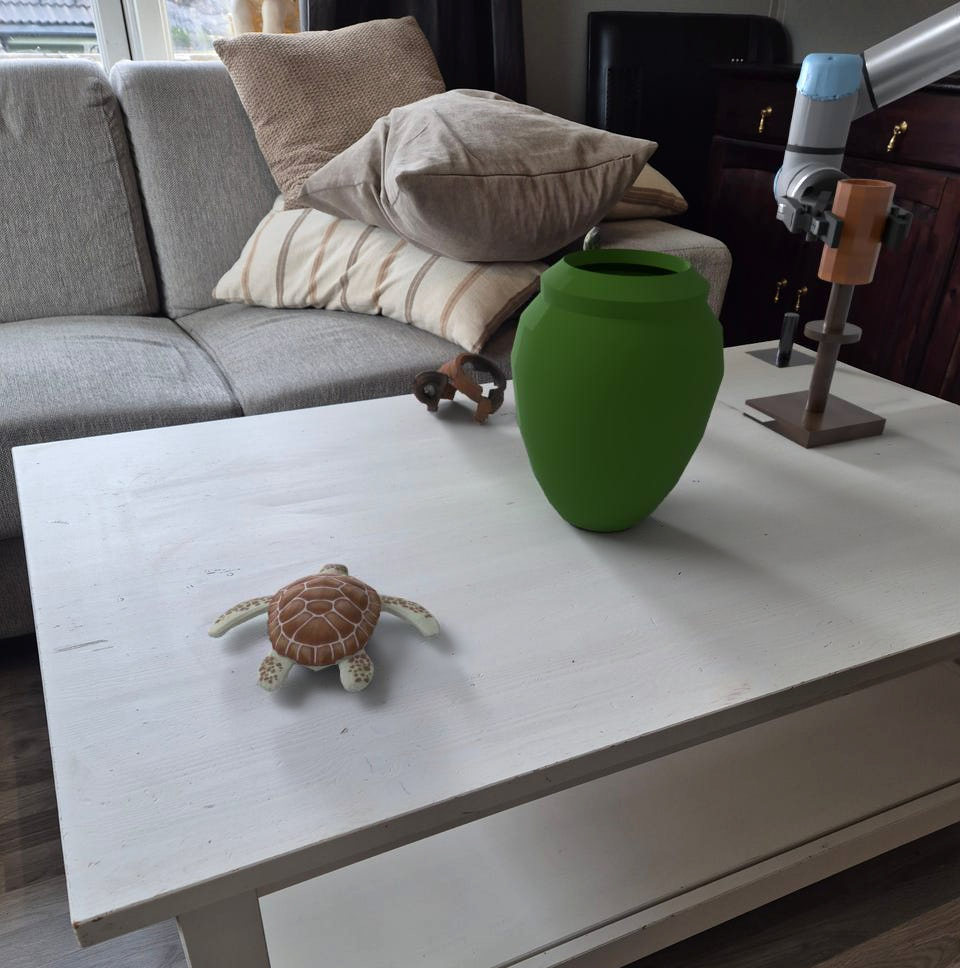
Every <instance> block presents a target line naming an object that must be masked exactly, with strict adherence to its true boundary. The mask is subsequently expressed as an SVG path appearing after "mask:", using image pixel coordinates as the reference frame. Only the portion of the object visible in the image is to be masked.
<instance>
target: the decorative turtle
mask: <svg viewBox="0 0 960 968" xmlns="http://www.w3.org/2000/svg"><path fill="white" fill-rule="evenodd" d="M349 574H350V573H349V568H348V567H347V566H346V564H345V565H344V564H342V563H327V564H324V565H323V566H322V567H320V569H319V572H318V573H317V574H310V575H307V576H303V577H301V578H298V579H296V580H294V581H292V582H291V583H289V584H287V585H285V586H284V587H281V588H280V589H279V590H278V591H277V592H276V593H275V594H272V595H265V596H260V597H256V598H252V599H248V600H246V601H243V602H240V603H238V604H236V605H234V606H233V607H231V608H229V609H228V610H226V611H225V612H224V613H222V614H221V615H220V616H219V617H218V618H216V619H215V620H214V621H213V623H212V624H211V625H210V627H209V628H208V631H207V636H209V637H210V638H214V639H219V638H222V637H223V636H224V635H226V633H228V632H229V631H230V630H232V629H233V628H236V627H238V626H240V625H242V624H244V623H246V622H249V621H250V620H253V619H254V618H256V617H258V616H262V615H264V614H266V613H267V620H266V626H267V635H268V637H269V638H268V641H270V643H271V648H272V649H271V651H270V652H269V653H268V654H267V655H266V657H265V658H264V659H263V660H262V661H261V663H260V664H259V666H258V668H257V670H256V681H257V683H258V686H259V687H260V688H261V689H262V690H264V691H267V692H277V691H279V690H281V688H282V686H283V685H284V684H285V683H286V681H287V679H288V677H289V674H290V671H291V670H292V668H293V667H294V665H300V666H302V667H305V668H307V669H309V670H312V671H314V672H318V671H319V672H320V671H321V670H324V669H326V668H329V667H331V666H334V665H338V669H339V676H340V677H339V678H340V682H341V684H342V687H343V688H344V690H345V691H348V693H349V692H351V693H355V692H359V691H361V690H363V689H365V688H366V687H367V686H368V685H369V684H370V683H371V681H372V679H373V677H374V673H375V666H374V663H373V661H372V660H371V658H370V657H369V654H367V652H366V650H365V647H366V645H367V644H368V642H369V639H370V638H371V637H372V635H373V634H374V631H375V629H376V627H377V623H378V621H379V620H380V619H379V618H380V617H381V613H382V612H383V613H388V614H391V615H393V616H395V617H397V618H399V619H400V620H402V621H404V622H406V623H408V624H409V625H411V626H413V627H414V628H416V629H417V630H418V631H419V632H420V633H421V634H422V635H423V637H425V638H426V639H429V640H431V639H436V638H437V637H439V635H440V633H441V628H440V627H441V626H440V624H439V621H438V620H437V618H436V617H435V616H434V615H433V613H431V612H430V611H429V610H428V609H427V608H425V607H424V606H423V605H421V604H419V603H418V602H415V601H412V600H410V599H406V598H401V597H397V596H391V595H384V594H379V593H378V592H377V590H376V589H374V587H371V586H370V585H369V584H367V583H365V582H364V581H362V580H360V579H359V578H357V577H354V576H353V575H349Z"/></svg>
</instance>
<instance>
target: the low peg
mask: <svg viewBox="0 0 960 968" xmlns="http://www.w3.org/2000/svg"><path fill="white" fill-rule="evenodd" d="M799 319H800V315H799V314H798V313H797V312H796V313H795V312H786V313H784V316H783V322H782V327H781V331H780V337H779V342H778V345H777V346H778V347H772V348H765V349H757V350H749V351H744V353H745V354H747V355H749V356H751V357H754V358H755V359H758V360H760V361H762V362H765V363H767V364H769V365H772V366H774V367H776V368H778V369H784V368H791V367H799V366H806V365H813V364H815V360H816V357H814V356H811V355H808V354H806V353H804V352H802V351H799V350H796V349H794V343H795V338H796V334H797V329H798V323H799Z"/></svg>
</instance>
